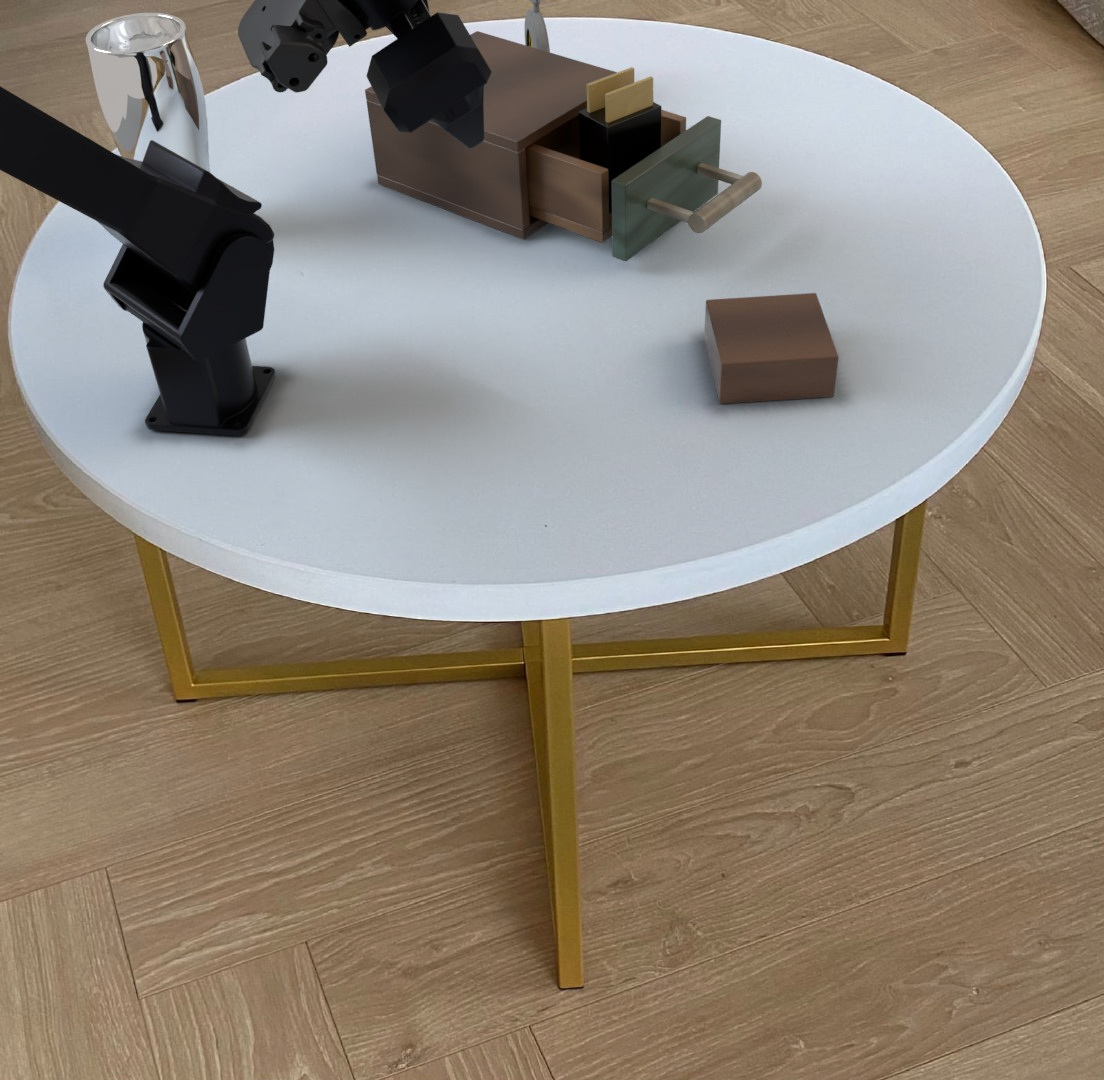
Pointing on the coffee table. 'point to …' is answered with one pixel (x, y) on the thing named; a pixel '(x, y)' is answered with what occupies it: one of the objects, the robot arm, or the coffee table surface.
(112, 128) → the silver metal cup
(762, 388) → the stand
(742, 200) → the drawer
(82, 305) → the coffee table surface
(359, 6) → the robot arm
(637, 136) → the black toaster with toast
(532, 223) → the cabinet
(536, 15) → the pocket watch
